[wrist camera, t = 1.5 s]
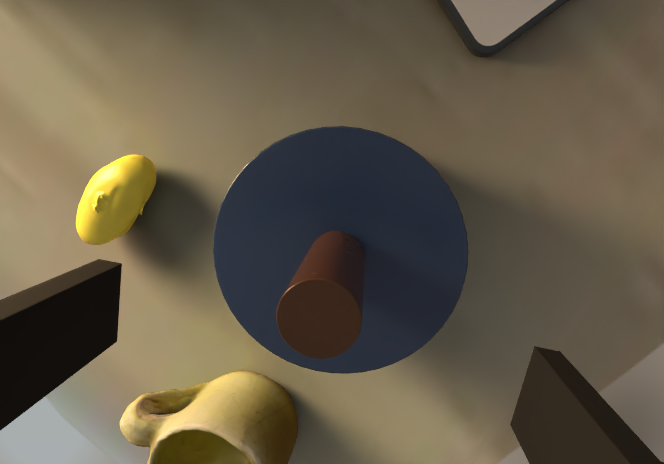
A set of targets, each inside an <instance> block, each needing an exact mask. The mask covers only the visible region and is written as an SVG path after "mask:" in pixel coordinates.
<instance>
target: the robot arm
mask: <svg viewBox="0 0 664 464" xmlns="http://www.w3.org/2000/svg"><path fill="white" fill-rule="evenodd" d="M121 266H122V264H121V263H116V262H111V261H106V260H101V259H98V260H96V261H93V262H91V263H89V264H86V265H84V266H81V267H79V268H77V269H74V270H72V271H69V272H67V273H64V274H62V275H60V276H57V277H55V278H52V279H50V280H48V281H45V282H43V283H40V284H38V285H35V286H33V287H31V288H28V289H26V290H23V291H21V292H19V293H16V294H14V295H11V296H9V297H6V298H4V299H2V300H0V430H2V429H3V428H4V427H5V426H7V425H8V424H9V423H11V422H12V421H13V420H14V419H16V418H17V417H18V416H20V415H21V414H22V413H23V412H25V411H26V410H28V409H29V408H30V407H32V406H33V405H34V404H35V403H37V402H38V401H39V400H41V399H42V398H43V397H45V396H46V395H47V394H49V393H50V392H51V391H53V390H54V389H55V388H56V387H58V386H59V385H60V384H62V383H63V382H64V381H66V380H67V379H68V378H70V377H71V376H72V375H73V374H75V373H76V372H77V371H79V370H80V369H81V368H83V367H84V366H85V365H87V364H88V363H89V362H90V361H92V360H93V359H94V358H96V357H97V356H98V355H100V354H101V353H102V352H104V351H105V350H106V349H107V348H109V347H110V346H111V345H113V344H114V343H115V342H117V332H118V316H119V299H120V282H121ZM510 425H511V427H512V429H513V431H514V433H515V435H516V437H517V439H518V441H519V443H520V445H521V447H522V449H523V451H524V453H525V455H526V457H527V459H528V461H529V463H530V464H664V462H661V461H660V460H659V459H658V458H657V457H656V456H655V455H654V454H653V453H652V452H651V451H650V449H649V448H648V447H647V446H646V445H645V444H644V443H643V442H642V441H641V440H640V438H639V437H638V436H637V435H636V434H635V433H634V432H633V431H632V430H631V429H630V428H629V426H628V425H627V424H626V423H625V422H624V421H623V420H622V419H621V418H620V417H619V415H618V414H617V413H616V412H615V411H614V410H613V409H612V408H611V407H610V406H609V405H608V404H607V403H606V401H605V400H604V399H603V398H602V397H601V396H600V395H599V394H598V393H597V391H596V390H595V389H594V388H593V387H592V386H591V385H590V384H589V383H588V382H587V380H586V379H585V378H584V377H583V376H582V375H581V374H580V373H579V372H578V371H577V370H576V368H575V367H574V366H573V365H572V364H571V363H570V362H569V361H568V360H567V359H566V357H565V356H564V355H563V354H562V353H561V352H560V351H555V350H550V349H545V348H540V347H535V346H534V350H533V353H532V356H531V359H530V363H529V366H528V369H527V372H526V376H525V379H524V382H523V385H522V389H521V392H520V395H519V398H518V401H517V405H516V408H515V411H514V414H513V418H512V421H511V424H510Z"/></svg>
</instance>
